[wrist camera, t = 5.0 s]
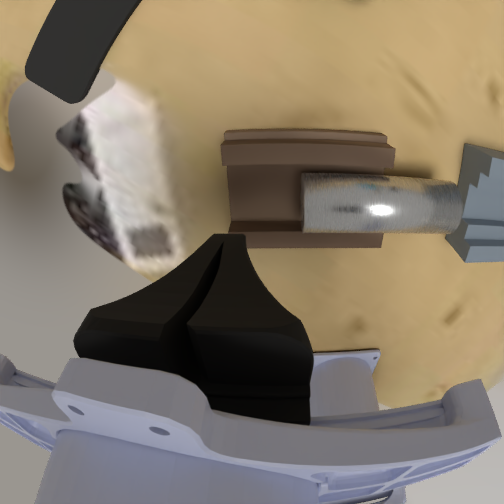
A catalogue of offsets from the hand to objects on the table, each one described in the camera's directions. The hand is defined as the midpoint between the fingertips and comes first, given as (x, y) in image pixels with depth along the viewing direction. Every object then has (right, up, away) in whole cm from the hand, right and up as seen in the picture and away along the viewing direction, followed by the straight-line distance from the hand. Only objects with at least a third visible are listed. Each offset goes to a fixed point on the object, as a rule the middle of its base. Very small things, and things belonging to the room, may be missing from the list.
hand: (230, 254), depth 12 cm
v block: (+20, +5, +5) cm, 22 cm away
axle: (+9, +3, +4) cm, 10 cm away
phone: (-10, +18, 0) cm, 20 cm away
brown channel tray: (+4, +5, +7) cm, 9 cm away
